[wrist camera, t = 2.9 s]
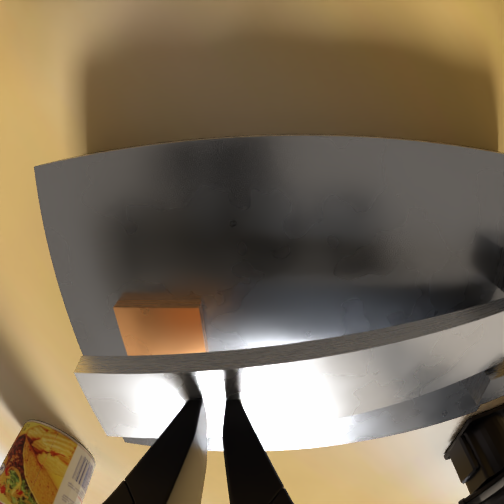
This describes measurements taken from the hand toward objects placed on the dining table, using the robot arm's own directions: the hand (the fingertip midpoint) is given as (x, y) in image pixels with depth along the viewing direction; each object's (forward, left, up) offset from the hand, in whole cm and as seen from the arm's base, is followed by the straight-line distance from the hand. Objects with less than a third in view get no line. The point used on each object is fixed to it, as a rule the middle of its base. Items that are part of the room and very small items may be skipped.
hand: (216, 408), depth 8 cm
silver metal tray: (-4, 0, -7) cm, 8 cm away
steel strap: (-4, 0, -1) cm, 4 cm away
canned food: (+18, +17, -7) cm, 26 cm away
